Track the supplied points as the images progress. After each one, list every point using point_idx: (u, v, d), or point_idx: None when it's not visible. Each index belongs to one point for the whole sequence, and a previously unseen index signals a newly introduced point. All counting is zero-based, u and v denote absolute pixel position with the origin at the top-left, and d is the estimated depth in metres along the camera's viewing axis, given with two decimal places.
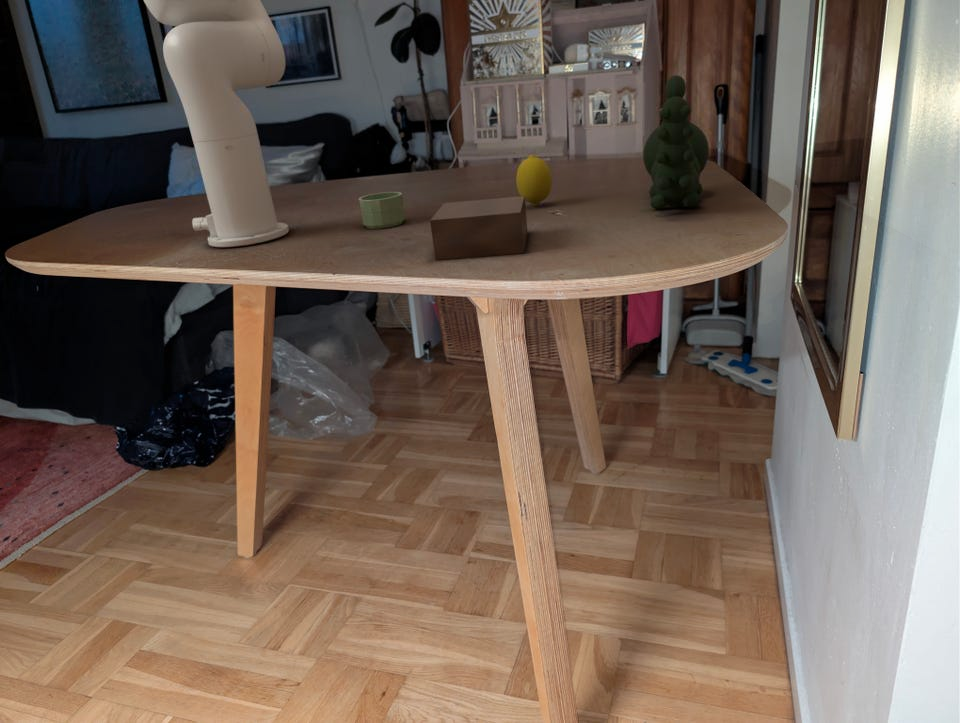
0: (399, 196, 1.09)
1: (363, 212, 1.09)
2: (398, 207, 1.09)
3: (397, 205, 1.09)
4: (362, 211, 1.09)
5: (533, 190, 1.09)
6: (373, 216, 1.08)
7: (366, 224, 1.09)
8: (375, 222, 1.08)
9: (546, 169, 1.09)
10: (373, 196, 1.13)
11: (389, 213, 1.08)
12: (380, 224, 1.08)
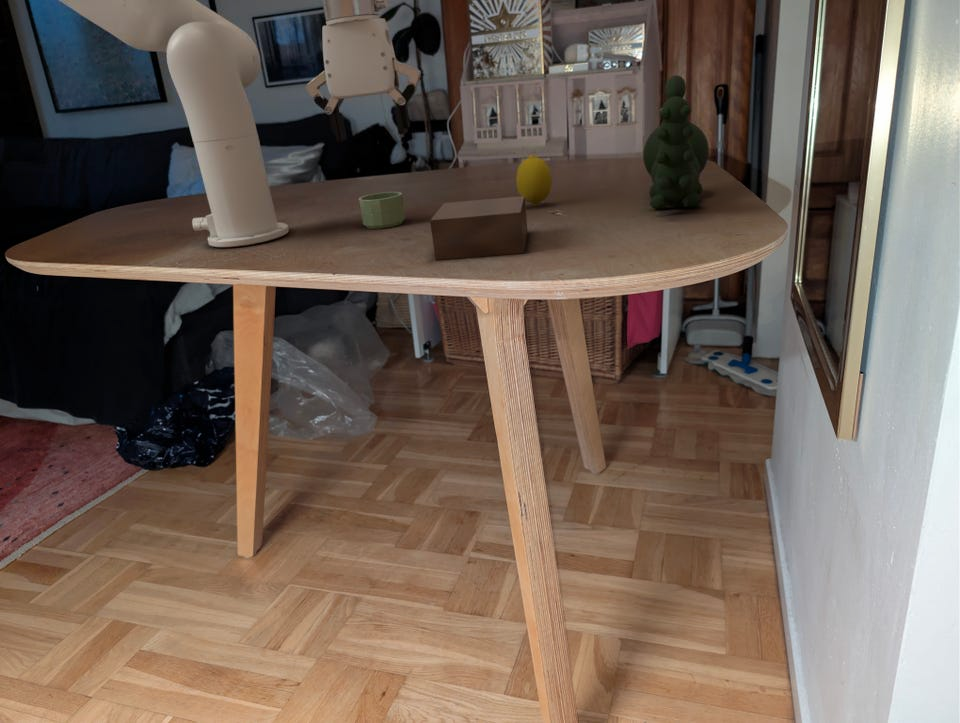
0: (399, 196, 1.09)
1: (363, 212, 1.09)
2: (398, 207, 1.09)
3: (397, 205, 1.09)
4: (362, 211, 1.09)
5: (533, 190, 1.09)
6: (373, 216, 1.08)
7: (366, 224, 1.09)
8: (375, 222, 1.08)
9: (546, 169, 1.09)
10: (373, 196, 1.13)
11: (389, 213, 1.08)
12: (380, 224, 1.08)
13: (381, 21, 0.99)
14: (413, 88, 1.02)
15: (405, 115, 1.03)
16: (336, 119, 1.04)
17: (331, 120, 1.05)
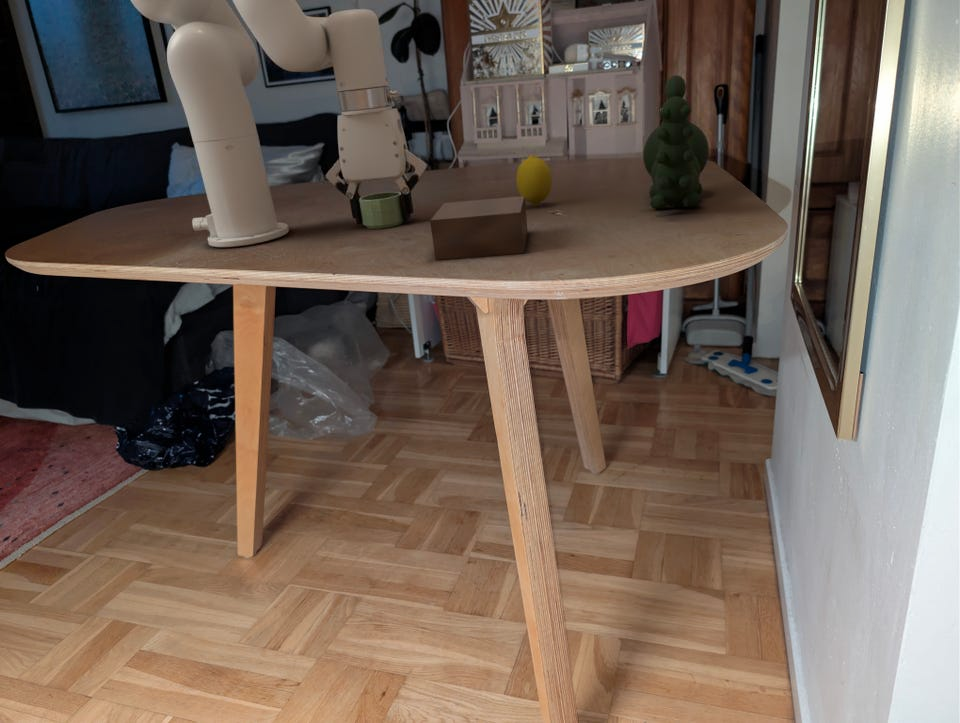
0: None
1: (363, 212, 1.09)
2: (398, 207, 1.09)
3: (397, 205, 1.09)
4: (362, 211, 1.09)
5: (533, 190, 1.09)
6: (373, 216, 1.08)
7: (366, 224, 1.09)
8: (375, 222, 1.08)
9: (546, 169, 1.09)
10: (373, 196, 1.13)
11: (389, 213, 1.08)
12: (380, 224, 1.08)
13: (394, 112, 1.04)
14: (417, 178, 1.08)
15: (409, 203, 1.09)
16: (356, 204, 1.09)
17: (351, 204, 1.10)
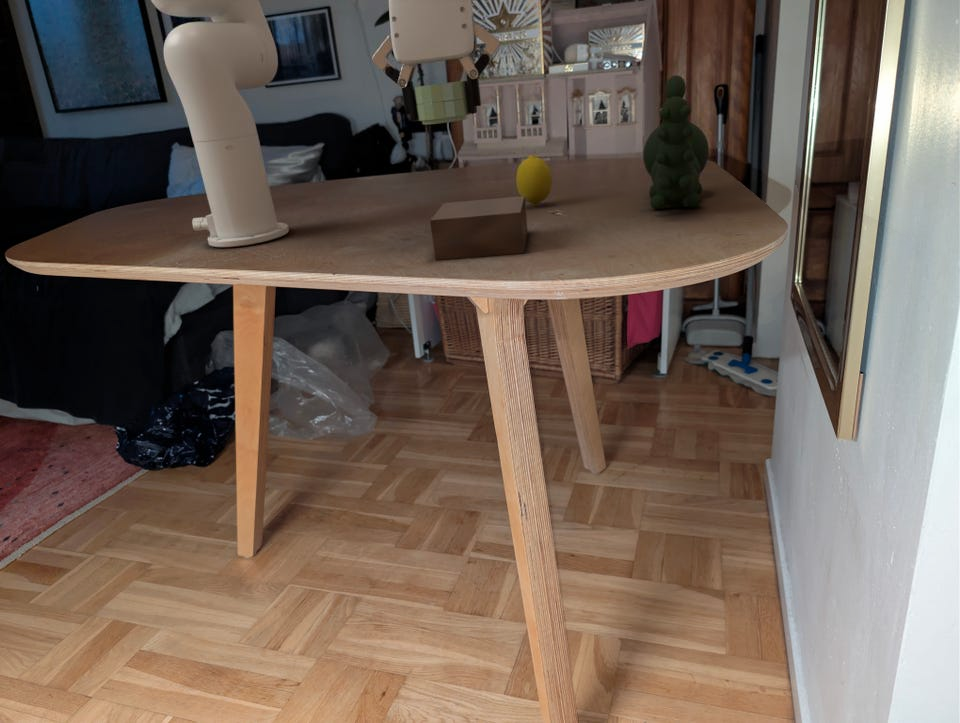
0: None
1: (420, 103, 0.87)
2: (464, 96, 0.87)
3: (463, 93, 0.87)
4: (418, 102, 0.87)
5: (533, 190, 1.09)
6: (433, 106, 0.86)
7: (423, 119, 0.87)
8: (435, 114, 0.86)
9: (546, 169, 1.09)
10: None
11: (453, 103, 0.86)
12: (442, 117, 0.86)
13: None
14: (488, 58, 0.86)
15: (477, 91, 0.87)
16: (411, 94, 0.87)
17: (404, 95, 0.88)
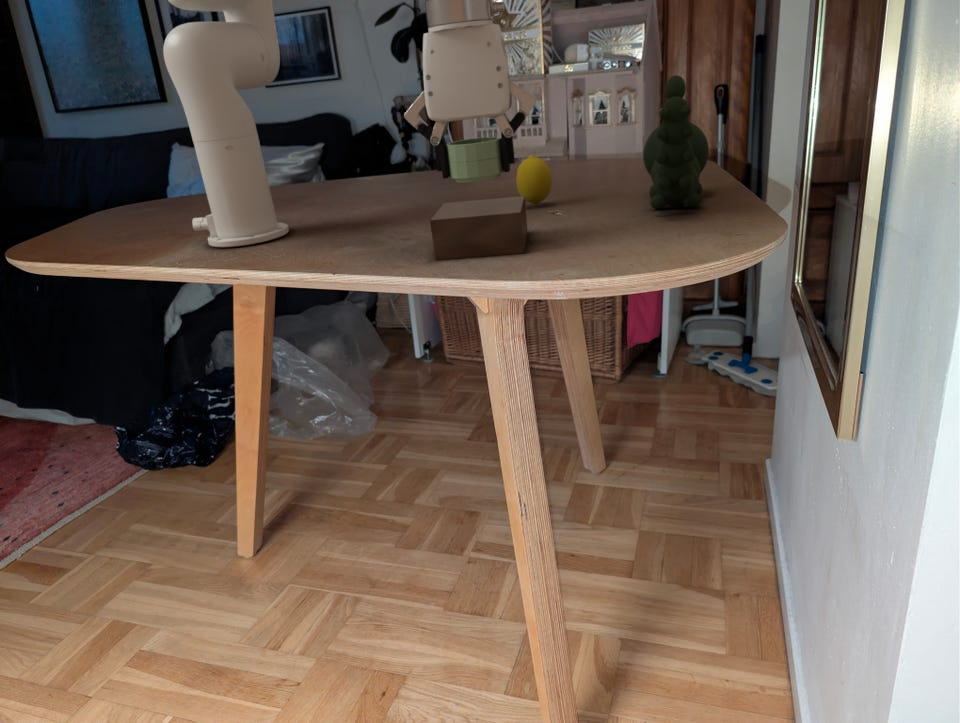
0: (499, 140, 0.85)
1: (453, 161, 0.85)
2: (498, 154, 0.85)
3: (497, 152, 0.85)
4: (451, 160, 0.85)
5: (533, 190, 1.09)
6: (467, 165, 0.84)
7: (456, 177, 0.85)
8: (469, 173, 0.84)
9: (546, 169, 1.09)
10: (462, 143, 0.89)
11: (488, 162, 0.84)
12: (475, 176, 0.84)
13: (497, 28, 0.80)
14: (523, 117, 0.83)
15: (511, 149, 0.85)
16: (444, 151, 0.85)
17: (437, 152, 0.86)
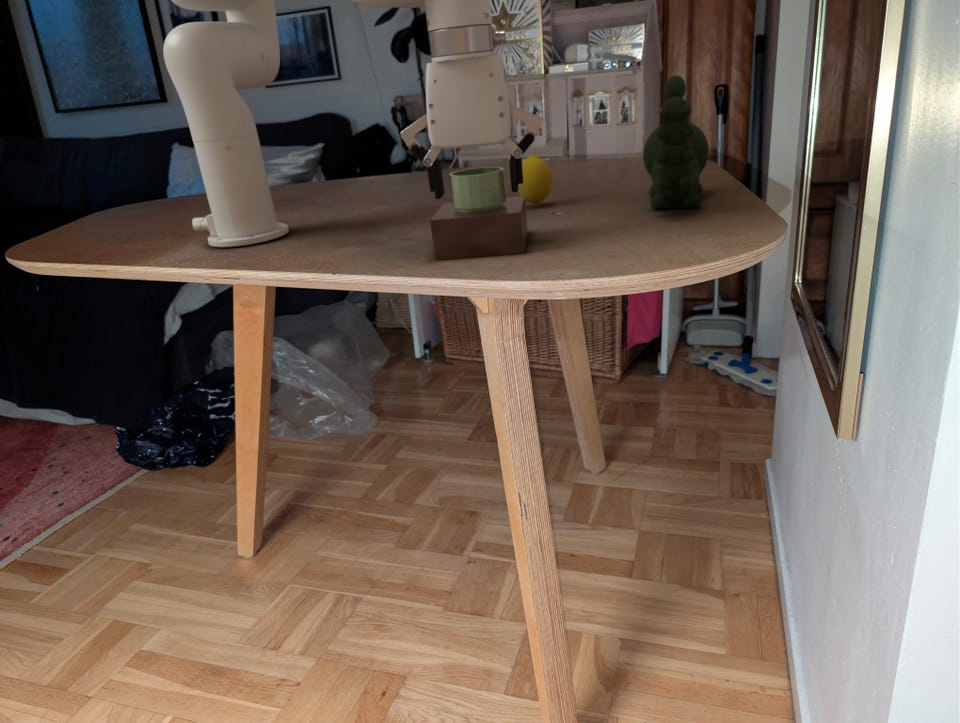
0: (502, 171, 0.86)
1: (456, 191, 0.86)
2: (500, 185, 0.86)
3: (499, 183, 0.86)
4: (455, 190, 0.86)
5: (533, 190, 1.09)
6: (470, 196, 0.85)
7: (459, 207, 0.87)
8: (472, 204, 0.86)
9: (546, 169, 1.09)
10: (465, 172, 0.90)
11: (490, 193, 0.86)
12: (478, 206, 0.86)
13: (499, 58, 0.81)
14: (533, 138, 0.84)
15: (520, 170, 0.86)
16: (436, 173, 0.87)
17: (429, 173, 0.87)
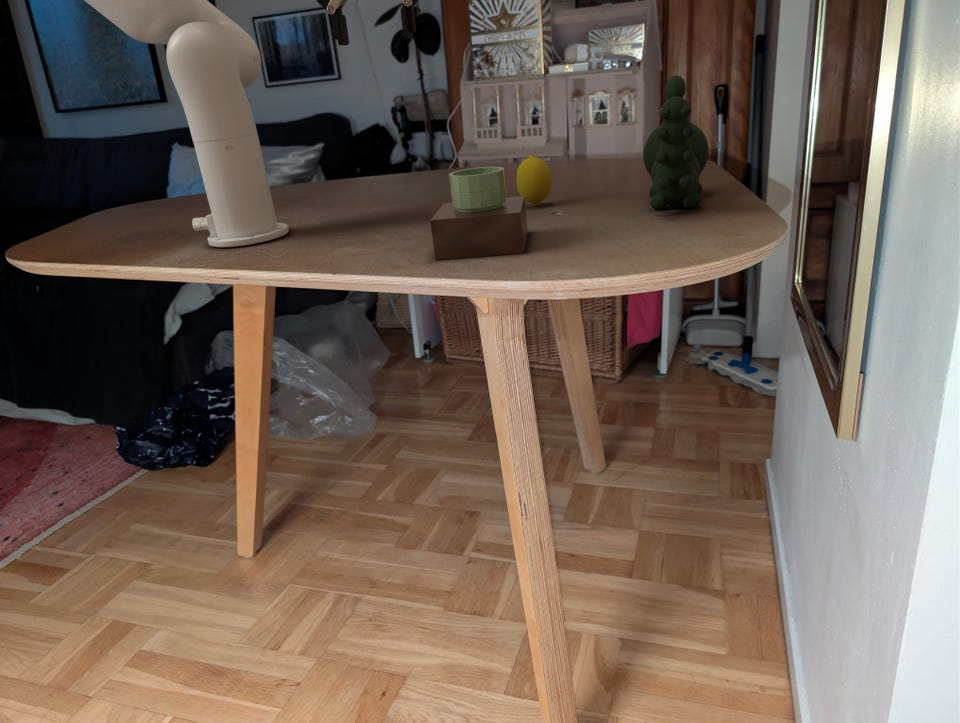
0: (502, 171, 0.86)
1: (456, 191, 0.86)
2: (500, 185, 0.86)
3: (499, 183, 0.86)
4: (455, 190, 0.86)
5: (533, 190, 1.09)
6: (470, 196, 0.85)
7: (459, 207, 0.87)
8: (472, 204, 0.86)
9: (546, 169, 1.09)
10: (465, 172, 0.90)
11: (490, 193, 0.86)
12: (478, 206, 0.86)
13: None
14: None
15: (411, 18, 0.98)
16: (338, 19, 0.98)
17: (333, 21, 0.99)
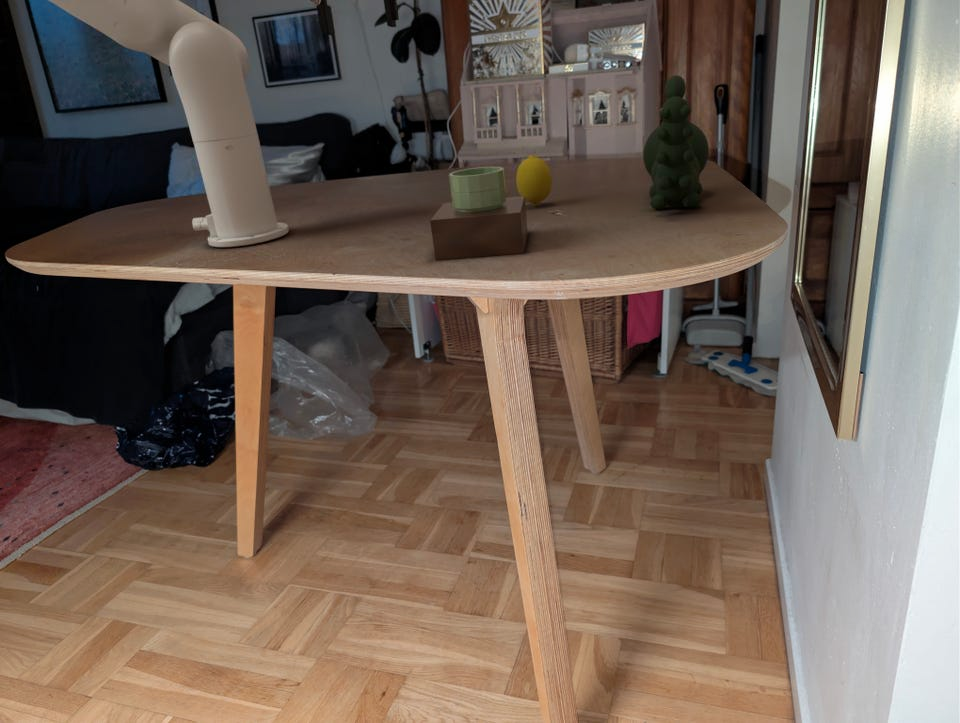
0: (502, 171, 0.86)
1: (456, 191, 0.86)
2: (500, 185, 0.86)
3: (499, 183, 0.86)
4: (455, 190, 0.86)
5: (533, 190, 1.09)
6: (470, 196, 0.85)
7: (459, 207, 0.87)
8: (472, 204, 0.86)
9: (546, 169, 1.09)
10: (465, 172, 0.90)
11: (490, 193, 0.86)
12: (478, 206, 0.86)
13: None
14: None
15: (394, 6, 1.02)
16: (324, 10, 1.03)
17: (319, 12, 1.03)
